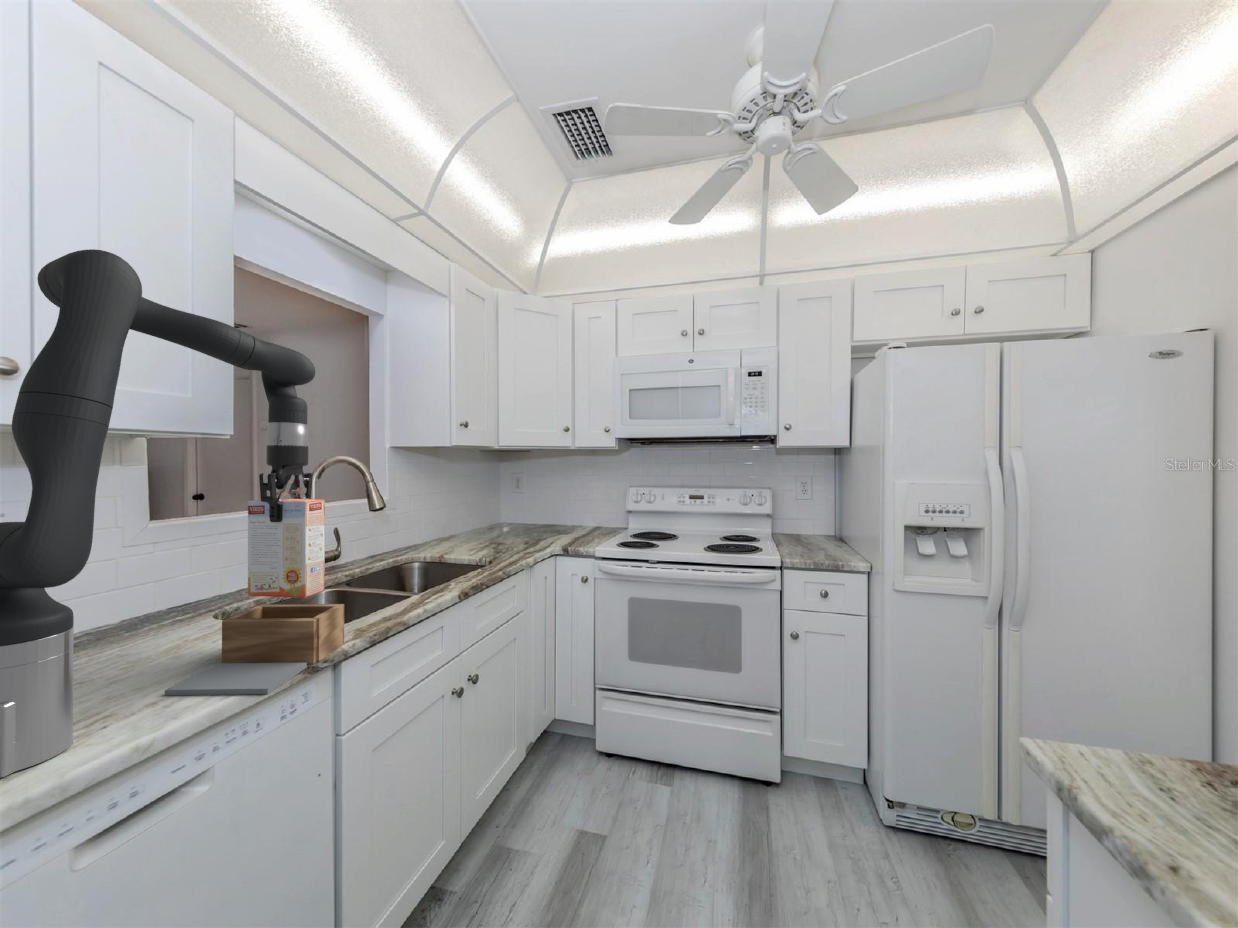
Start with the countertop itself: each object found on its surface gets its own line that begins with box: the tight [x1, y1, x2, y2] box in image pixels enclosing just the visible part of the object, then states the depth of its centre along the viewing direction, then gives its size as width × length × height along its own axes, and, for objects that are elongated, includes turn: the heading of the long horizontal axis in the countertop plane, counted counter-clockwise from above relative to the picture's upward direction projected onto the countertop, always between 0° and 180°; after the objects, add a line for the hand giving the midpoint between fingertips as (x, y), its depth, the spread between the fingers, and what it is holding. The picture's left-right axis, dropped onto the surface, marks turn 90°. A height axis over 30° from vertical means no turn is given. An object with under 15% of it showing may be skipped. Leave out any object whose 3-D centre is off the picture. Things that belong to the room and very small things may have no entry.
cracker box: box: [247, 498, 326, 599], centre depth 102 cm, size 14×6×21 cm, turn 82°
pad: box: [164, 662, 308, 696], centre depth 89 cm, size 11×18×1 cm, turn 92°
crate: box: [221, 603, 345, 665], centre depth 102 cm, size 11×19×9 cm, turn 92°
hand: (287, 520), depth 102 cm, fingers closed on cracker box, 6 cm apart
